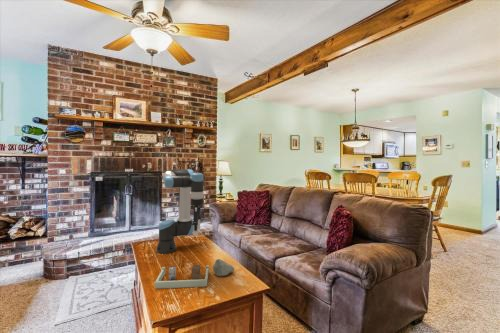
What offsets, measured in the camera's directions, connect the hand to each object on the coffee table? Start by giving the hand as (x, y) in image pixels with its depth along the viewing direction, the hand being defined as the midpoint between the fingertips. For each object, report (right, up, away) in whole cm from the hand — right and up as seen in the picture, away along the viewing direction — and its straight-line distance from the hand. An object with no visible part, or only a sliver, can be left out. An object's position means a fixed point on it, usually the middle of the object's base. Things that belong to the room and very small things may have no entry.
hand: (196, 232), depth 153 cm
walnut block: (0, -27, -3) cm, 27 cm away
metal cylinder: (-14, -27, -4) cm, 30 cm away
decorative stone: (+16, -27, +3) cm, 32 cm away
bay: (-7, -27, -5) cm, 28 cm away
